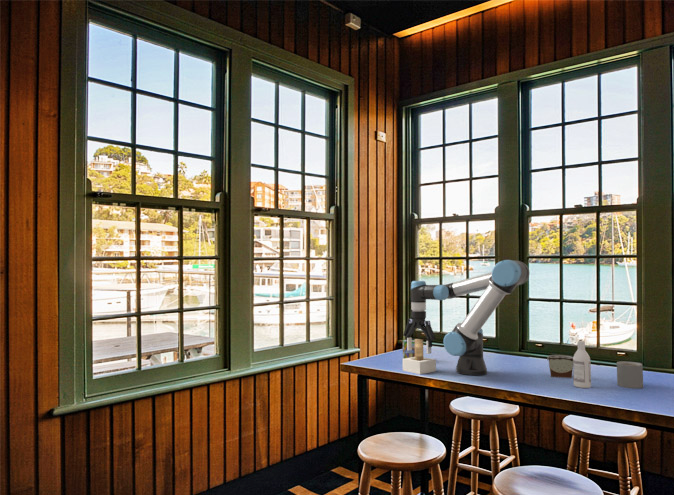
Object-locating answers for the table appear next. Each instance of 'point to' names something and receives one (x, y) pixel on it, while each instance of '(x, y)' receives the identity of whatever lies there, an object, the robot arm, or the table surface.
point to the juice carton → (408, 352)
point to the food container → (560, 366)
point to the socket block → (419, 365)
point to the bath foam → (581, 367)
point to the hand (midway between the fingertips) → (419, 351)
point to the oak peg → (419, 349)
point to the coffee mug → (630, 374)
